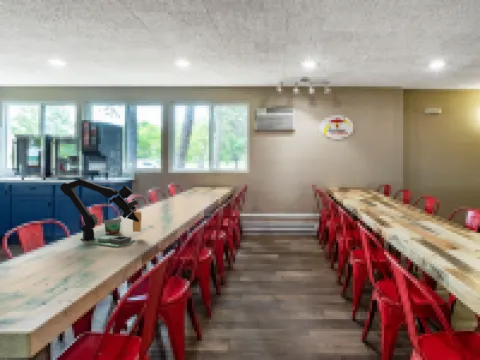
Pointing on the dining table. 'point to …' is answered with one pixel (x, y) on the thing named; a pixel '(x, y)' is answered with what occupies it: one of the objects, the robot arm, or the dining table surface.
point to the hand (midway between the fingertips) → (139, 220)
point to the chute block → (137, 224)
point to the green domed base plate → (113, 241)
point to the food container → (112, 226)
